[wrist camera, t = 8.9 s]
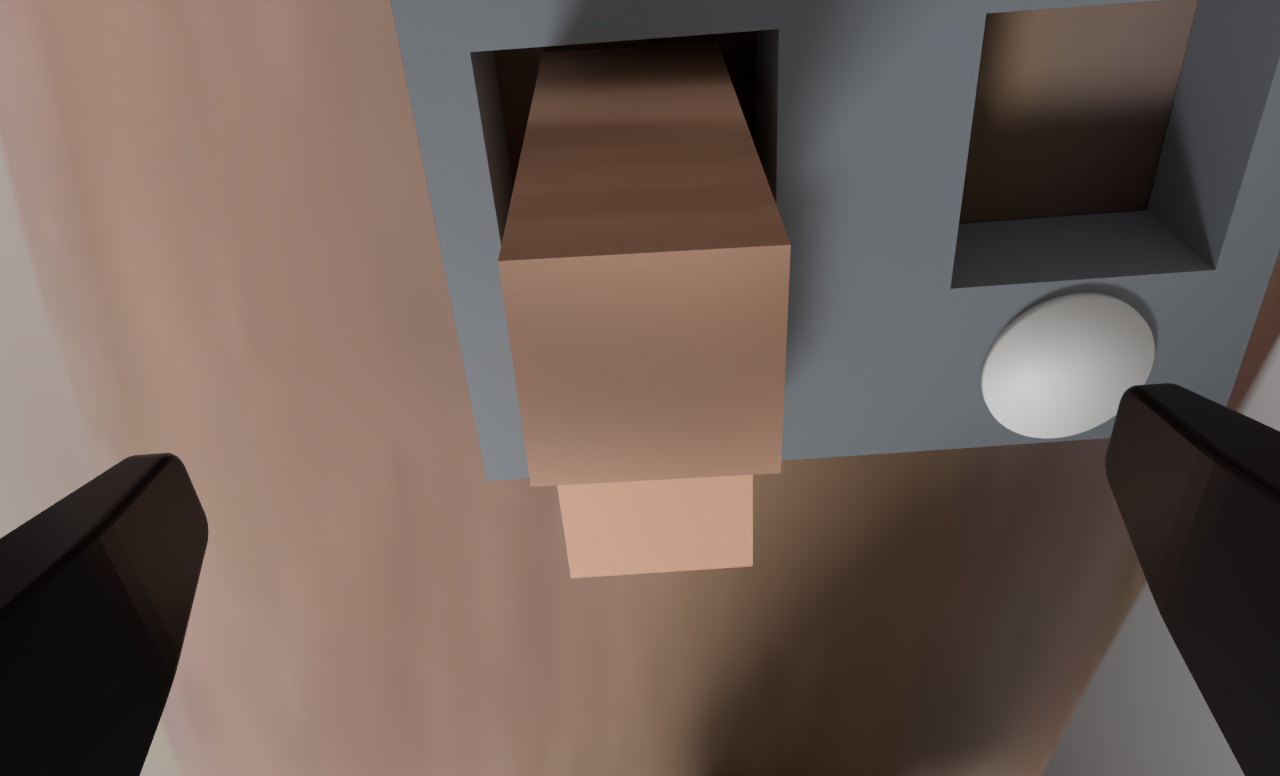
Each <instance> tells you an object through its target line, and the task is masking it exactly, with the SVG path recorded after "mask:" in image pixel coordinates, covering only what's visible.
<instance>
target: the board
mask: <svg viewBox="0 0 1280 776" xmlns="http://www.w3.org/2000/svg"><path fill="white" fill-rule="evenodd" d="M1146 1H1160V0H390V2H391V6H392V11H393V16H394V21H395V26H396V31H397V36H398V41H399V46H400V51H401V56H402V61H403V66H404V71H405V76H406V81H407V86H408V91H409V96H410V101H411V106H412V111H413V116H414V121H415V126H416V131H417V136H418V141H419V146H420V151H421V156H422V161H423V166H424V171H425V176H426V181H427V186H428V191H429V196H430V201H431V206H432V210H433V215H434V220H435V225H436V230H437V235H438V240H439V245H440V250H441V255H442V260H443V265H444V270H445V275H446V280H447V285H448V290H449V295H450V300H451V305H452V310H453V315H454V320H455V325H456V330H457V335H458V340H459V345H460V350H461V355H462V360H463V365H464V370H465V375H466V380H467V385H468V390H469V395H470V400H471V405H472V410H473V415H474V419H475V424H476V429H477V434H478V439H479V444H480V449H481V454H482V459H483V464H484V469H485V474H486V479H487V481H493V480H508V479H523V478H529V472H528V465H527V458H526V451H525V444H524V437H523V430H522V423H521V417H520V410H519V403H518V396H517V389H516V382H515V375H514V368H513V361H512V355H511V348H510V341H509V334H508V327H507V320H506V313H505V306H504V300H503V293H502V286H501V279H500V272H499V265H498V259H499V254H500V249H501V244H502V240H503V235H504V230H505V226H506V221H507V216H508V212H509V207H510V202H511V197H512V193H513V188H514V185H513V179H512V172H511V165H510V158H509V152H508V145H507V138H506V131H505V124H504V118H503V111H502V104H501V97H500V91H499V84H498V77H497V70H496V64H495V57H494V50H506V49H519V48H533V47H546V46H559V45H573V44H586V43H600V42H613V41H626V40H640V39H653V38H666V37H680V36H693V35H706V34H720V33H733V32H746V31H757V95H756V151H757V153H758V156H759V159H760V162H761V164H762V167H763V170H764V173H765V175H766V178H767V181H768V184H769V186H770V189H771V192H772V195H773V197H774V200H775V203H776V206H777V208H778V211H779V214H780V217H781V219H782V222H783V225H784V228H785V230H786V233H787V236H788V239H789V241H790V244H791V251H790V274H789V297H788V320H787V343H786V365H785V388H784V411H783V434H782V457H781V461H785V460H799V459H814V458H829V457H843V456H858V455H872V454H887V453H902V452H916V451H931V450H945V449H960V448H974V447H989V446H1004V445H1018V444H1033V443H1047V442H1062V441H1076V440H1091V439H1106V438H1110V437H1111V433H1112V429H1113V425H1114V421H1115V418H1116V414H1117V410H1118V406H1119V402H1120V400H1121V397H1122V395H1123V394H1124V392H1125V391H1126V390H1127V389H1128V388H1130V387H1132V386H1135V385H1148V384H1162V383H1172V384H1177V385H1180V386H1182V387H1184V388H1186V389H1188V390H1190V391H1193V392H1195V393H1197V394H1199V395H1201V396H1203V397H1206V398H1208V399H1210V400H1212V401H1214V402H1217V403H1219V404H1221V405H1223V406H1225V407H1227V404H1228V401H1229V398H1230V395H1231V392H1232V389H1233V387H1234V384H1235V381H1236V378H1237V375H1238V372H1239V369H1240V366H1241V363H1242V360H1243V357H1244V354H1245V351H1246V348H1247V345H1248V342H1249V340H1250V337H1251V334H1252V331H1253V328H1254V325H1255V322H1256V319H1257V316H1258V313H1259V310H1260V307H1261V304H1262V301H1263V298H1264V295H1265V292H1266V290H1267V287H1268V284H1269V281H1270V278H1271V275H1272V272H1273V269H1274V266H1275V263H1276V260H1277V257H1278V254H1279V251H1280V0H1199V3H1198V7H1197V11H1196V15H1195V19H1194V23H1193V27H1192V31H1191V35H1190V39H1189V43H1188V47H1187V51H1186V55H1185V59H1184V63H1183V67H1182V71H1181V75H1180V79H1179V83H1178V87H1177V91H1176V95H1175V99H1174V103H1173V107H1172V111H1171V115H1170V119H1169V123H1168V127H1167V132H1166V136H1165V140H1164V144H1163V148H1162V152H1161V156H1160V160H1159V164H1158V168H1157V172H1156V176H1155V180H1154V184H1153V188H1152V192H1151V196H1150V200H1149V204H1148V208H1147V210H1146V211H1132V212H1118V213H1104V214H1090V215H1076V216H1062V217H1048V218H1034V219H1021V220H1007V221H993V222H979V223H965V224H959V219H960V211H961V204H962V196H963V188H964V181H965V173H966V166H967V158H968V150H969V143H970V135H971V127H972V120H973V112H974V104H975V97H976V89H977V82H978V74H979V66H980V59H981V51H982V43H983V36H984V28H985V20H986V13H1000V12H1013V11H1026V10H1040V9H1053V8H1066V7H1080V6H1093V5H1106V4H1120V3H1133V2H1146ZM557 487H558V494H559V501H560V507H561V514H562V521H563V528H564V534H565V541H566V548H567V555H568V561H569V568H570V575H571V578H585V577H600V576H614V575H629V574H644V573H659V572H674V571H689V570H704V569H719V568H734V567H749V566H753V475H738V476H720V477H702V478H684V479H665V480H647V481H629V482H611V483H593V484H574V485H557Z"/></svg>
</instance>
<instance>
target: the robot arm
mask: <svg viewBox="0 0 1280 776" xmlns="http://www.w3.org/2000/svg"><path fill="white" fill-rule="evenodd" d="M1105 467H1106V474H1107V478H1108V481H1109V484H1110V487H1111V489H1112V492H1113V495H1114V497H1115V500H1116V502H1117V505H1118V507H1119V510H1120V513H1121V515H1122V518H1123V520H1124V523H1125V526H1126V528H1127V531H1128V533H1129V536H1130V539H1131V541H1132V544H1133V546H1134V549H1135V551H1136V554H1137V557H1138V559H1139V562H1140V564H1141V567H1142V570H1143V572H1144V575H1145V577H1146V580H1147V583H1148V585H1149V588H1150V590H1151V593H1152V595H1153V598H1154V600H1155V602H1156V604H1157V607H1158V609H1159V612H1160V614H1161V616H1162V618H1163V620H1164V622H1165V624H1166V626H1167V628H1168V630H1169V632H1170V634H1171V636H1172V638H1173V640H1174V642H1175V644H1176V646H1177V648H1178V650H1179V652H1180V653H1181V655H1182V657H1183V659H1184V661H1185V663H1186V665H1187V667H1188V669H1189V671H1190V672H1191V674H1192V676H1193V678H1194V680H1195V682H1196V684H1197V686H1198V688H1199V689H1200V691H1201V693H1202V695H1203V697H1204V699H1205V701H1206V703H1207V705H1208V707H1209V708H1210V710H1211V712H1212V714H1213V716H1214V718H1215V720H1216V722H1217V724H1218V725H1219V727H1220V729H1221V731H1222V733H1223V735H1224V737H1225V739H1226V741H1227V742H1228V744H1229V746H1230V748H1231V750H1232V752H1233V754H1234V756H1235V758H1236V759H1237V761H1238V763H1239V765H1240V767H1241V769H1242V771H1243V773H1244V775H1245V776H1280V432H1279V431H1277V430H1275V429H1273V428H1271V427H1269V426H1266V425H1264V424H1262V423H1260V422H1258V421H1256V420H1253V419H1251V418H1249V417H1247V416H1245V415H1243V414H1240V413H1238V412H1236V411H1234V410H1232V409H1230V408H1227V407H1225V406H1223V405H1221V404H1219V403H1217V402H1214V401H1212V400H1210V399H1208V398H1206V397H1203V396H1201V395H1199V394H1197V393H1195V392H1193V391H1190V390H1188V389H1186V388H1184V387H1182V386H1180V385H1177V384H1172V383H1162V384H1148V385H1135V386H1132V387H1130V388H1128V389H1127V390H1126V391H1125V392H1124V394H1123V395H1122V397H1121V400H1120V402H1119V406H1118V410H1117V414H1116V418H1115V421H1114V425H1113V429H1112V433H1111V437H1110V440H1109V444H1108V448H1107V452H1106V459H1105ZM207 541H208V523H207V518H206V515H205V513H204V510H203V508H202V506H201V503H200V501H199V499H198V496H197V494H196V492H195V489H194V487H193V485H192V482H191V480H190V478H189V475H188V473H187V471H186V468H185V466H184V464H183V463H182V461H181V460H180V459H179V458H178V457H177V456H175V455H173V454H171V453H161V454H146V455H134V456H130V457H128V458H126V459H124V460H122V461H121V462H119V463H118V464H116V465H115V466H113V467H111V468H110V469H108V470H107V471H105V472H104V473H102V474H101V475H99V476H97V477H96V478H94V479H93V480H91V481H90V482H88V483H86V484H85V485H83V486H82V487H80V488H79V489H77V490H76V491H74V492H73V493H71V494H69V495H68V496H66V497H65V498H63V499H62V500H60V501H59V502H57V503H55V504H54V505H52V506H51V507H49V508H47V509H46V510H44V511H43V512H41V513H40V514H38V515H37V516H35V517H33V518H32V519H30V520H29V521H27V522H26V523H24V524H22V525H21V526H19V527H18V528H16V529H15V530H13V531H11V532H10V533H8V534H7V535H5V536H4V537H2V538H1V539H0V776H139V775H140V773H141V770H142V767H143V765H144V762H145V759H146V756H147V754H148V751H149V748H150V745H151V742H152V740H153V737H154V734H155V731H156V729H157V726H158V723H159V721H160V718H161V715H162V712H163V710H164V707H165V704H166V701H167V698H168V695H169V692H170V689H171V686H172V683H173V681H174V677H175V673H176V670H177V666H178V662H179V659H180V655H181V651H182V646H183V642H184V638H185V634H186V630H187V626H188V621H189V617H190V613H191V609H192V605H193V600H194V596H195V592H196V588H197V584H198V580H199V575H200V571H201V567H202V563H203V559H204V555H205V550H206V546H207Z"/></svg>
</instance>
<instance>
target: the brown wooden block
mask: <svg viewBox="0 0 1280 776" xmlns="http://www.w3.org/2000/svg"><path fill="white" fill-rule="evenodd" d="M790 251H791V244H790V241H789V239H788V236H787V233H786V230H785V228H784V225H783V222H782V219H781V217H780V214H779V211H778V208H777V206H776V203H775V200H774V197H773V195H772V192H771V189H770V186H769V184H768V181H767V178H766V175H765V173H764V170H763V167H762V164H761V162H760V159H759V156H758V153H757V151H756V148H755V145H754V142H753V140H752V137H751V134H750V131H749V129H748V126H747V123H746V120H745V118H744V115H743V112H742V109H741V107H740V104H739V101H738V98H737V96H736V93H735V90H734V87H733V85H732V82H731V79H730V76H729V74H728V71H727V68H726V65H725V63H724V60H723V57H722V54H721V52H720V49H719V46H718V43H717V42H712V43H694V44H677V45H659V46H641V47H624V48H606V49H589V50H571V51H553V52H542V57H541V61H540V66H539V71H538V75H537V80H536V85H535V90H534V94H533V99H532V104H531V108H530V113H529V118H528V122H527V127H526V132H525V136H524V141H523V146H522V151H521V155H520V160H519V165H518V169H517V174H516V179H515V183H514V188H513V193H512V197H511V202H510V207H509V212H508V216H507V221H506V226H505V230H504V235H503V240H502V244H501V249H500V254H499V259H498V265H499V272H500V279H501V286H502V293H503V300H504V306H505V313H506V320H507V327H508V334H509V341H510V348H511V355H512V361H513V368H514V375H515V382H516V389H517V396H518V403H519V410H520V417H521V423H522V430H523V437H524V444H525V451H526V458H527V465H528V472H529V478H530V485H531V487H538V486H556V485H574V484H593V483H611V482H629V481H647V480H665V479H684V478H702V477H720V476H738V475H756V474H775V473H781V457H782V434H783V411H784V388H785V365H786V343H787V320H788V297H789V274H790Z"/></svg>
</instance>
